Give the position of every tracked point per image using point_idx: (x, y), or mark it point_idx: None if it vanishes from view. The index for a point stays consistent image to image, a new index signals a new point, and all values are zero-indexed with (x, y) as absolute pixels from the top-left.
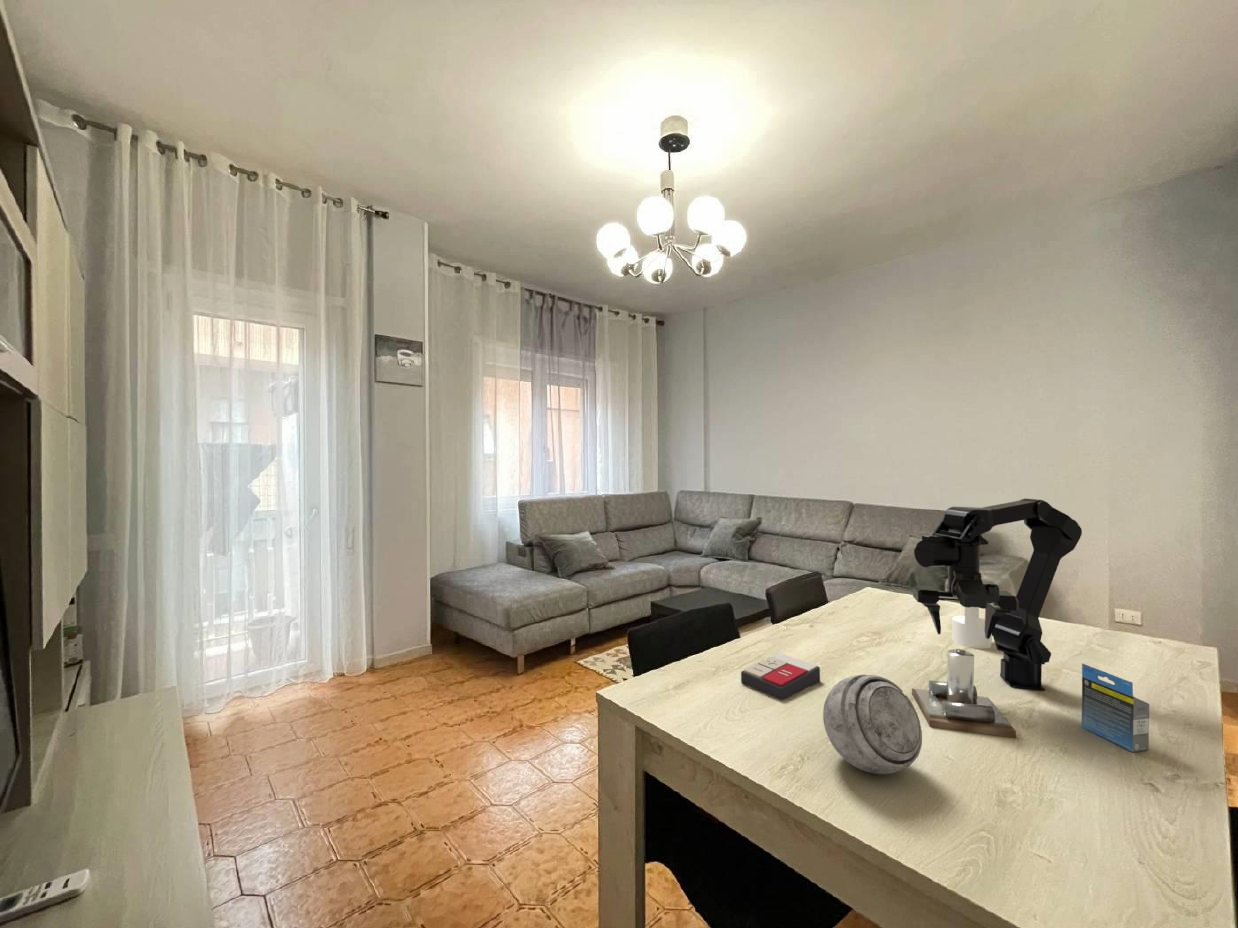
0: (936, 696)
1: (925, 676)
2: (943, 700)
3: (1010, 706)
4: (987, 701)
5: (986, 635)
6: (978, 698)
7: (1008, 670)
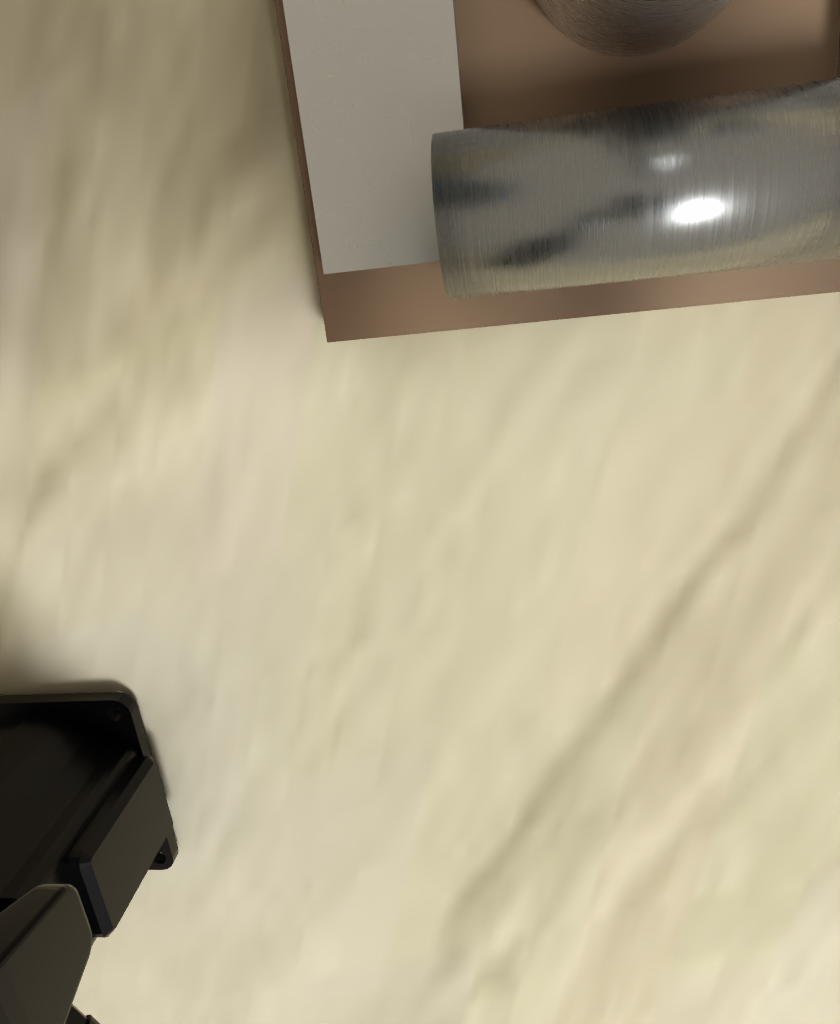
0: None
1: (711, 702)
2: (757, 74)
3: (178, 335)
4: (347, 160)
5: (52, 942)
6: (415, 203)
7: (96, 811)
